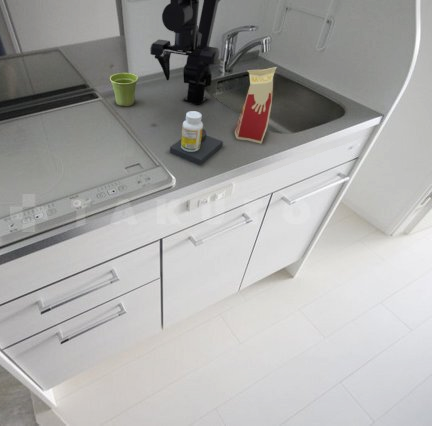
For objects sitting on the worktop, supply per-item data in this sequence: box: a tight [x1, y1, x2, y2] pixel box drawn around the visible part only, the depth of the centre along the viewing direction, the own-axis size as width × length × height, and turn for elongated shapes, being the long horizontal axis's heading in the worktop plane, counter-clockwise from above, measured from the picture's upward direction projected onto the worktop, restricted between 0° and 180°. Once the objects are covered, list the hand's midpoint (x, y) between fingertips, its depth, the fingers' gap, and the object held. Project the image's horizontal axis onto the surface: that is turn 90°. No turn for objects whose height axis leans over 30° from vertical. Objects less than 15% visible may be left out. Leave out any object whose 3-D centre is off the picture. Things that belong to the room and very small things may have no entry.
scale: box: [169, 128, 224, 166], centre depth 85 cm, size 12×10×4 cm
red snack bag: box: [234, 66, 278, 145], centre depth 87 cm, size 9×9×20 cm
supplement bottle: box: [180, 110, 204, 152], centre depth 81 cm, size 5×5×10 cm
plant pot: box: [109, 72, 139, 107], centre depth 104 cm, size 9×9×9 cm
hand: (182, 82), depth 91 cm, fingers open, 9 cm apart
